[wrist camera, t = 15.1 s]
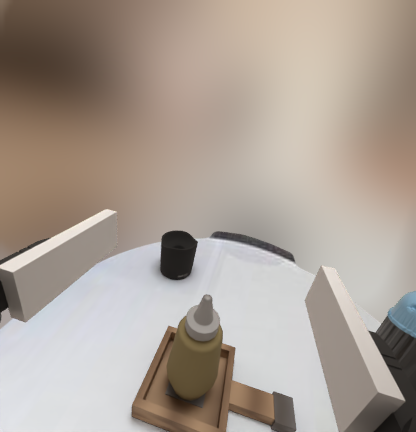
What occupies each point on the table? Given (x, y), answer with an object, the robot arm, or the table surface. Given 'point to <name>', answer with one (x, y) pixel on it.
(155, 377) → the wooden tray with handle
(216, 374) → the squeeze bottle
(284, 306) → the table surface
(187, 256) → the pen holder
